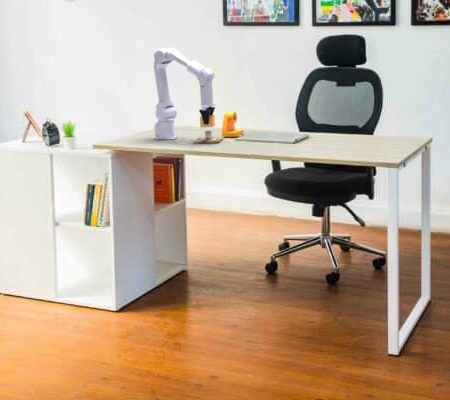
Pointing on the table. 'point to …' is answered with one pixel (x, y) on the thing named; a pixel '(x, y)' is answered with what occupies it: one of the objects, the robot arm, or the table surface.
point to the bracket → (230, 125)
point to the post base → (212, 141)
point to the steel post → (208, 135)
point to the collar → (211, 122)
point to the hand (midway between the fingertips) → (207, 123)
